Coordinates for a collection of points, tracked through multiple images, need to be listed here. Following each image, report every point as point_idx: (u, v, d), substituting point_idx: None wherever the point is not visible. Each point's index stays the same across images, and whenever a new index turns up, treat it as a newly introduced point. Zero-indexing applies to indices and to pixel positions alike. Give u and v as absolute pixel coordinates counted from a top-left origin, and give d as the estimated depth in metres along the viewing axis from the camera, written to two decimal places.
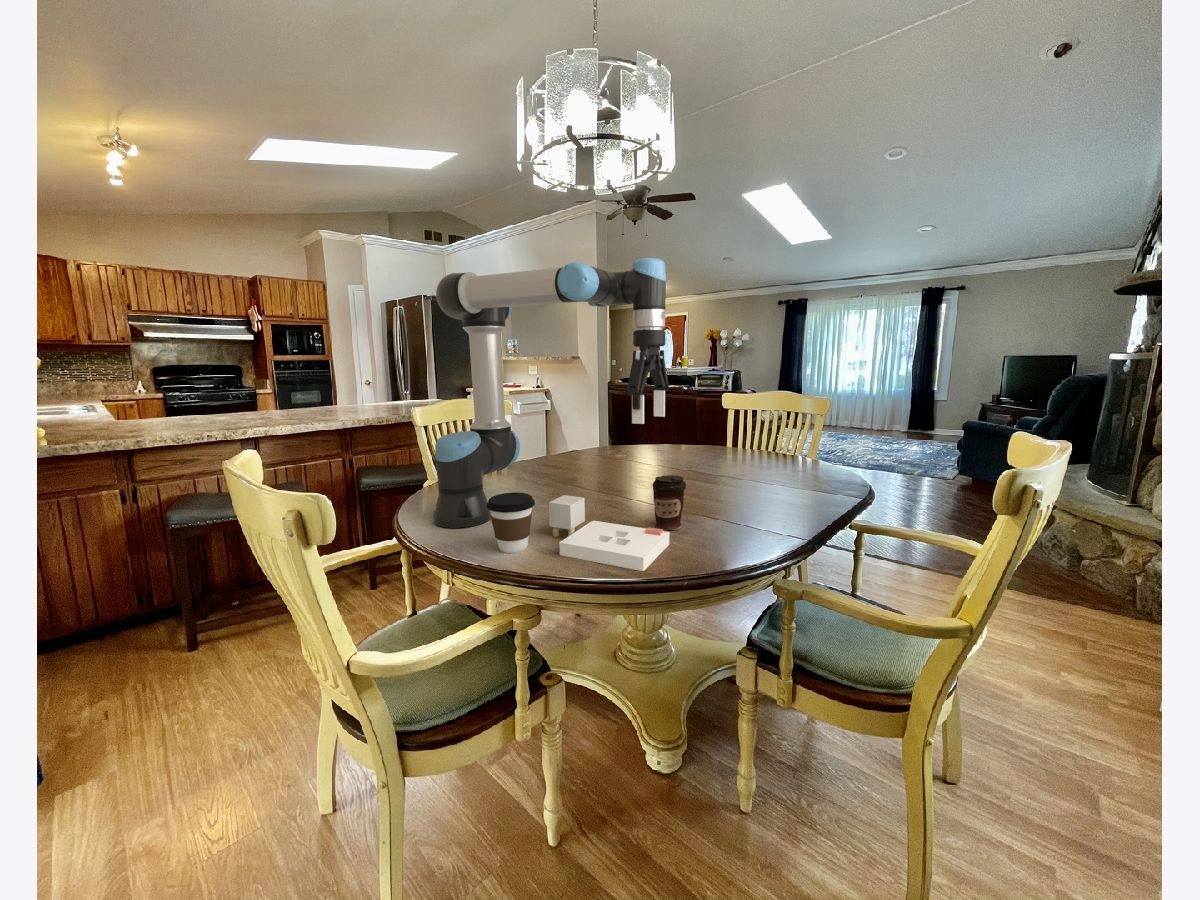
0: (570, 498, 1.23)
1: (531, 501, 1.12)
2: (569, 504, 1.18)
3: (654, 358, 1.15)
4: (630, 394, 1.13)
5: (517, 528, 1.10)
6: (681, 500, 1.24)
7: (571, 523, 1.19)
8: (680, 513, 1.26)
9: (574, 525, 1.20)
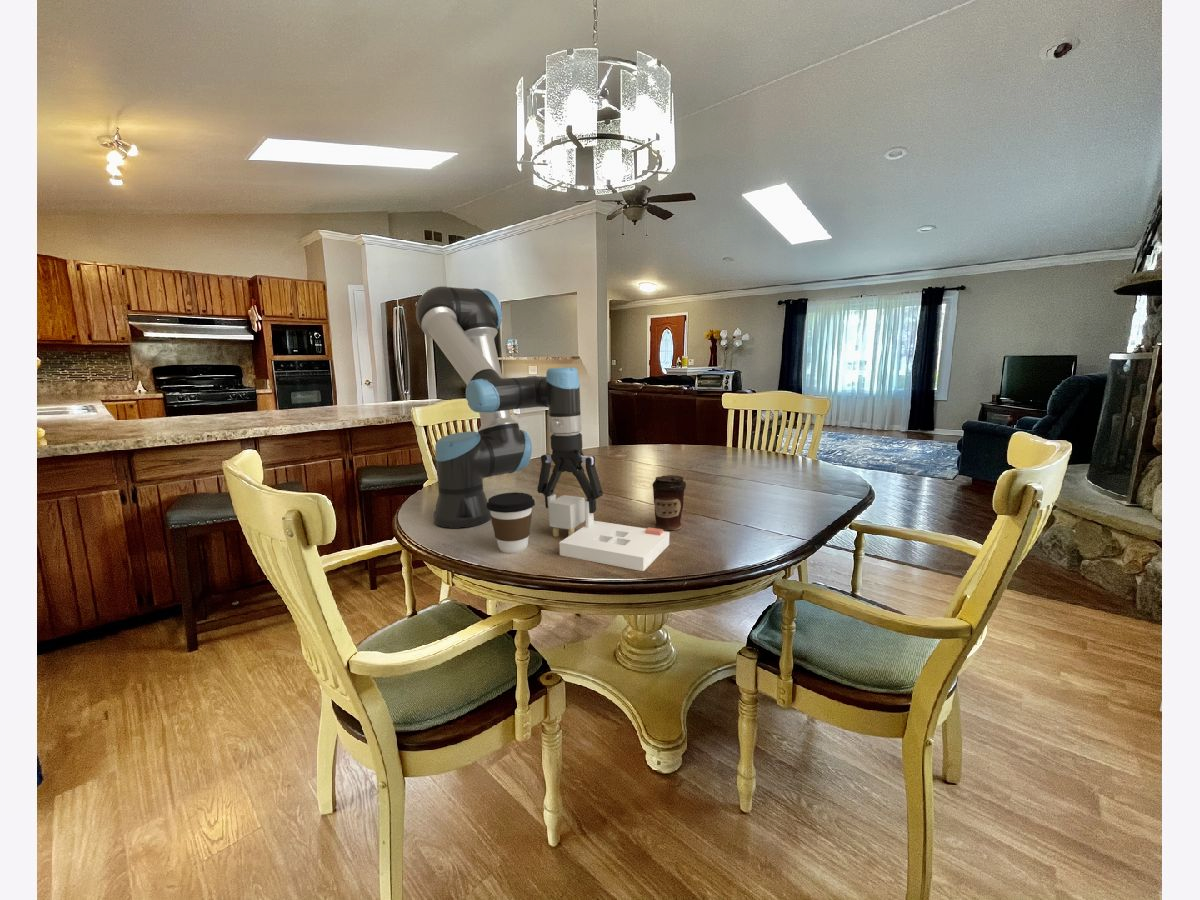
0: (570, 498, 1.23)
1: (531, 501, 1.12)
2: (569, 504, 1.18)
3: (557, 462, 1.19)
4: None
5: (517, 528, 1.10)
6: (681, 500, 1.24)
7: (571, 523, 1.19)
8: (680, 513, 1.26)
9: (574, 525, 1.20)
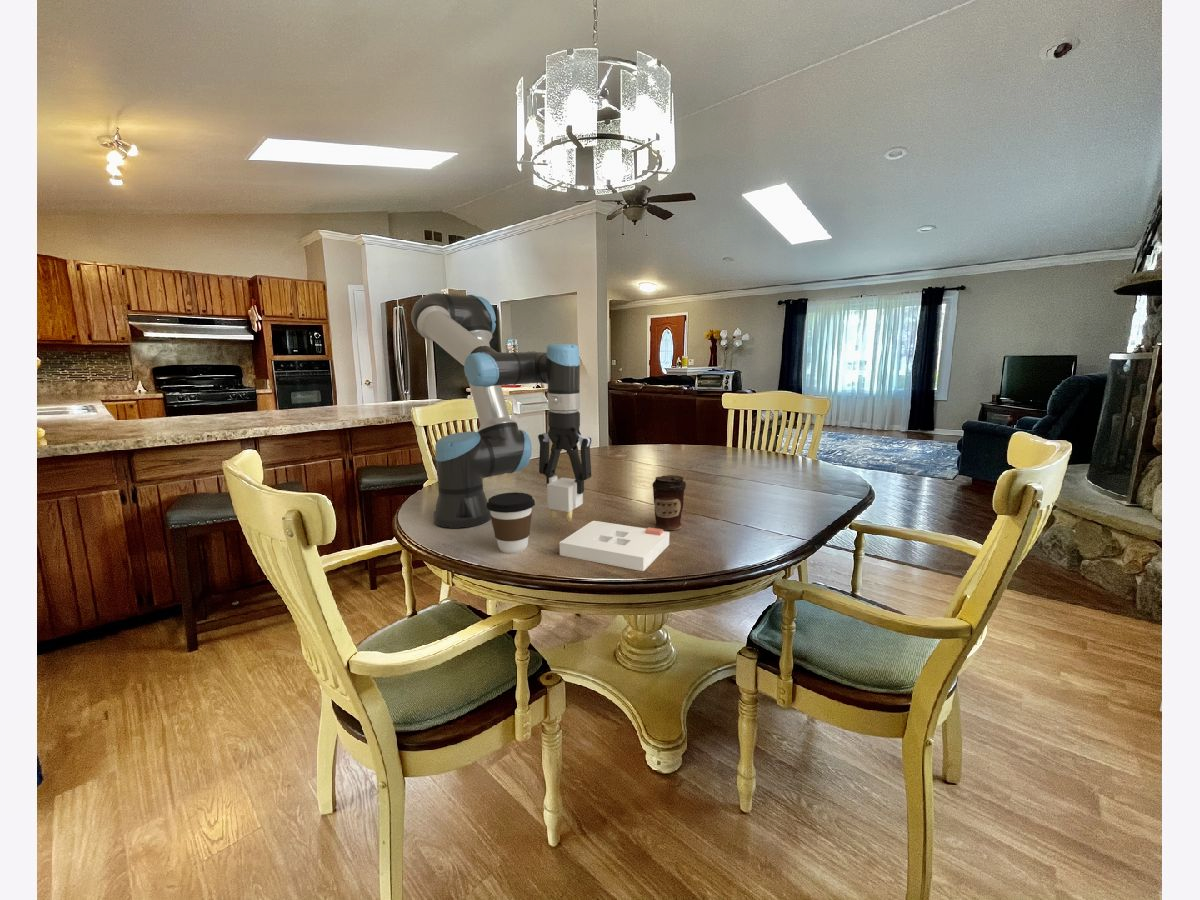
0: (569, 481, 1.23)
1: (531, 501, 1.12)
2: (567, 486, 1.18)
3: (554, 439, 1.18)
4: None
5: (517, 528, 1.10)
6: (681, 500, 1.24)
7: (569, 505, 1.18)
8: (680, 513, 1.26)
9: (572, 507, 1.20)
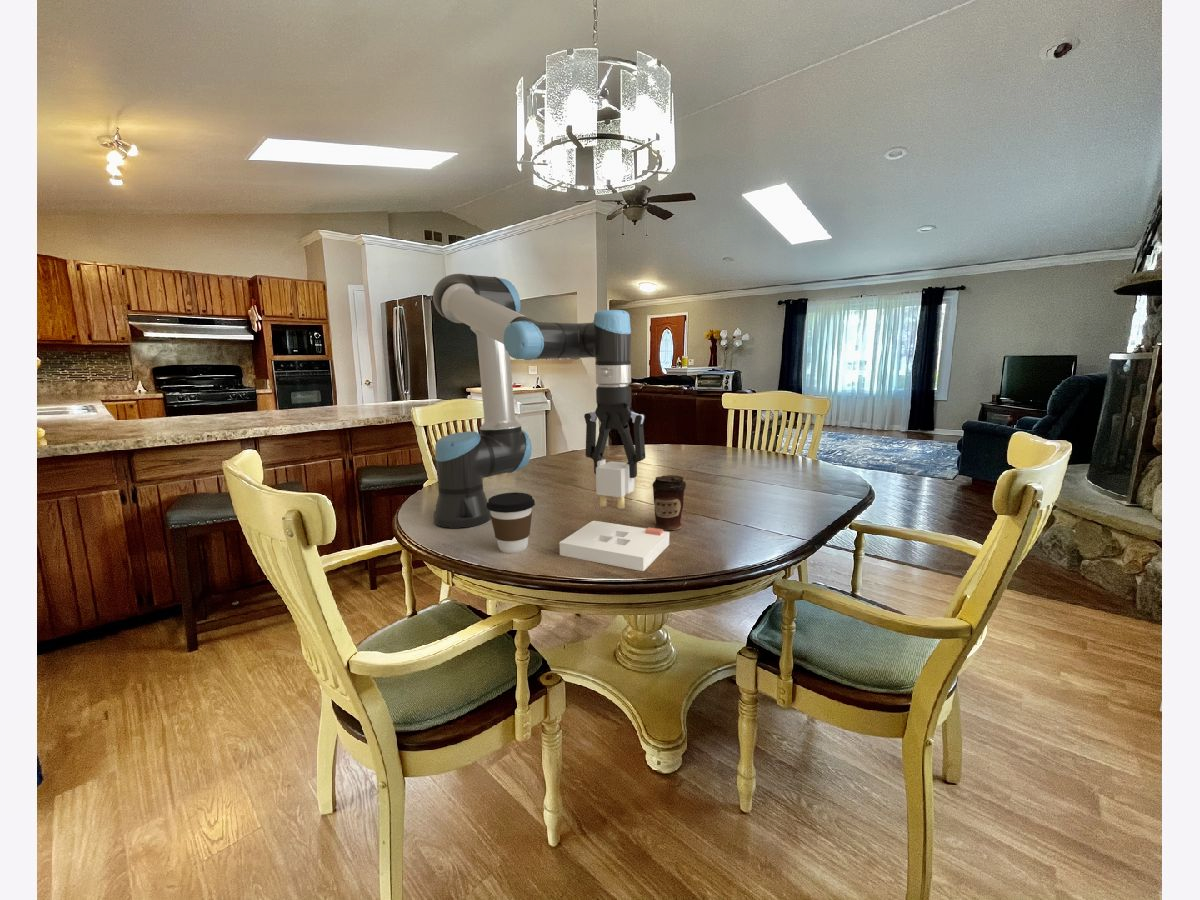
0: (618, 464, 1.11)
1: (531, 501, 1.12)
2: (619, 469, 1.06)
3: (604, 417, 1.07)
4: None
5: (517, 528, 1.10)
6: (681, 500, 1.24)
7: (621, 490, 1.06)
8: (680, 513, 1.26)
9: (624, 493, 1.08)
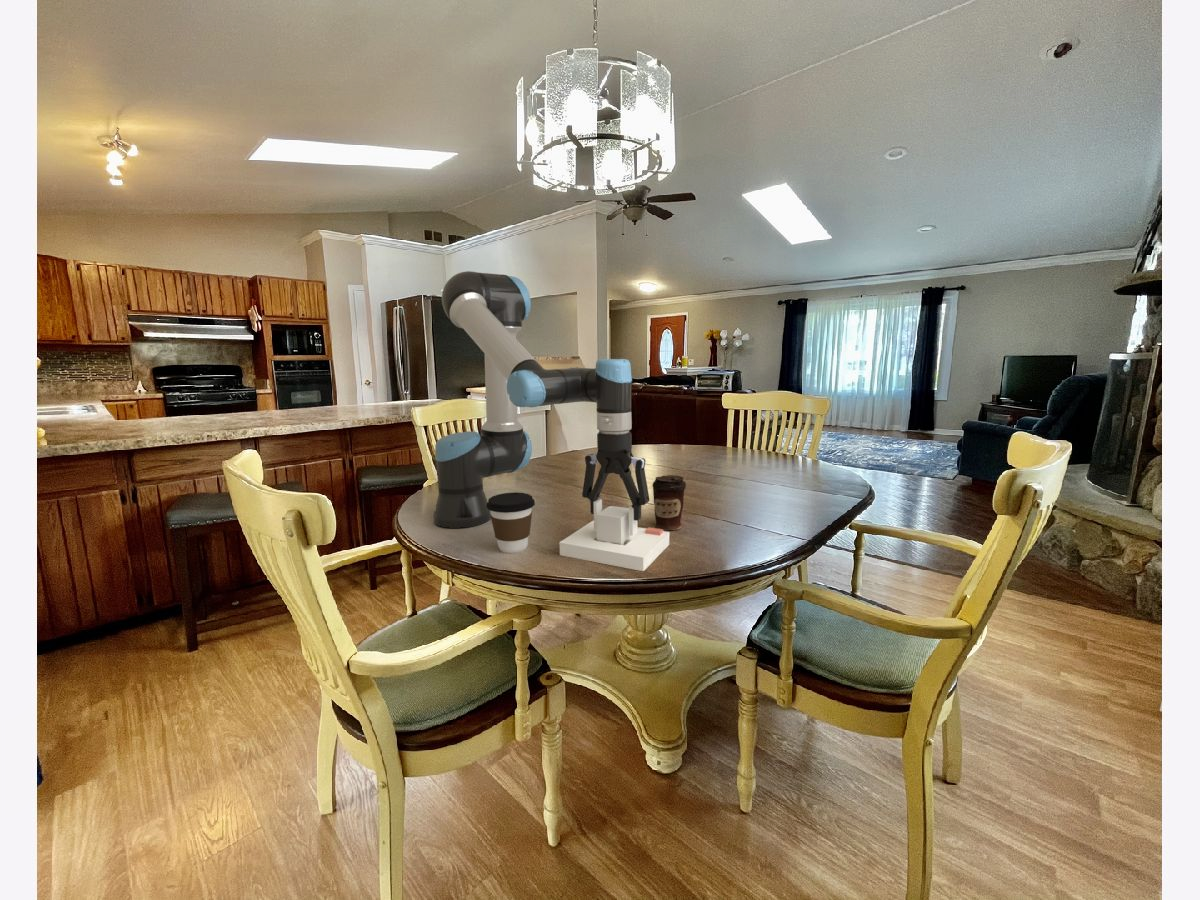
0: (618, 510, 1.13)
1: (531, 501, 1.12)
2: (619, 516, 1.08)
3: (604, 462, 1.08)
4: None
5: (517, 528, 1.10)
6: (681, 500, 1.24)
7: (621, 537, 1.09)
8: (680, 513, 1.26)
9: (624, 539, 1.10)
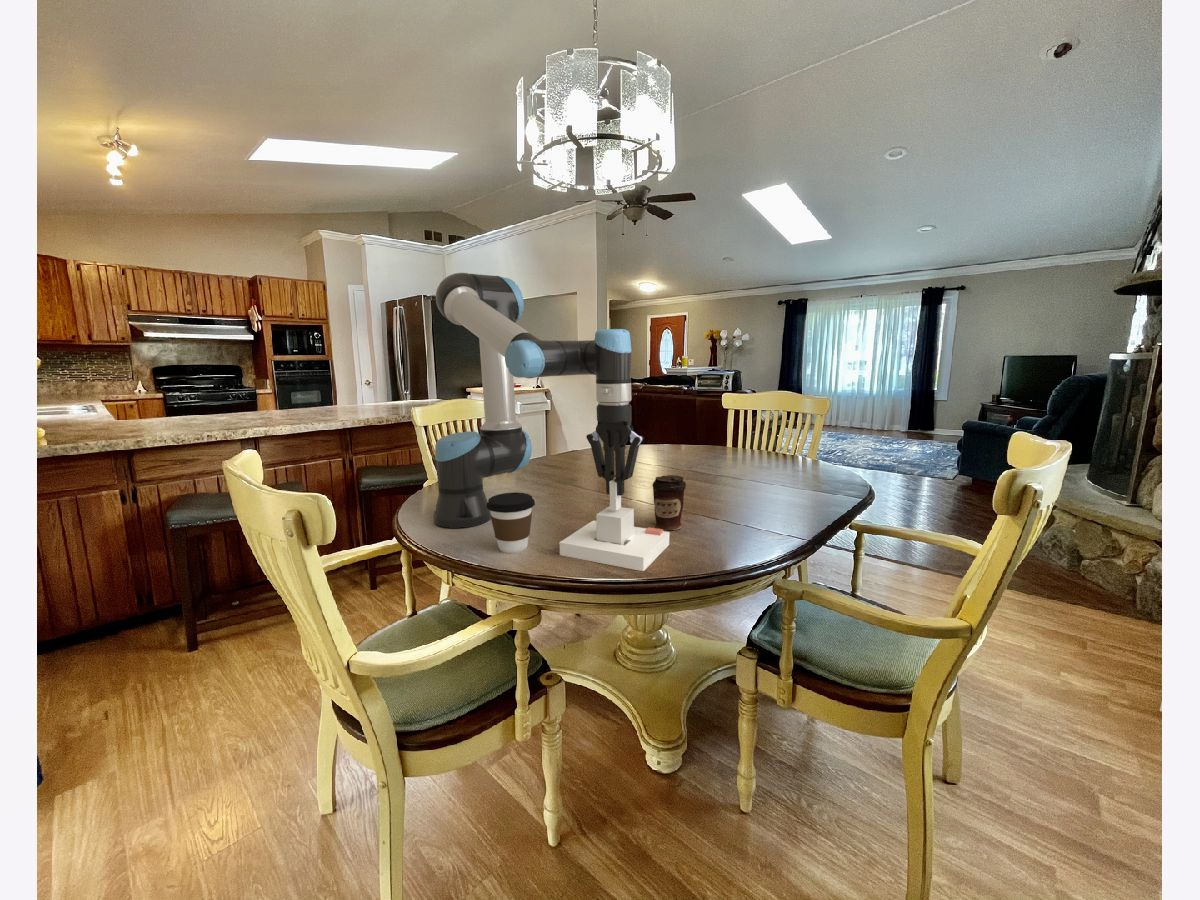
0: (618, 510, 1.13)
1: (531, 501, 1.12)
2: (619, 516, 1.08)
3: (604, 435, 1.07)
4: None
5: (517, 528, 1.10)
6: (681, 500, 1.24)
7: (621, 537, 1.09)
8: (680, 513, 1.26)
9: (624, 539, 1.10)
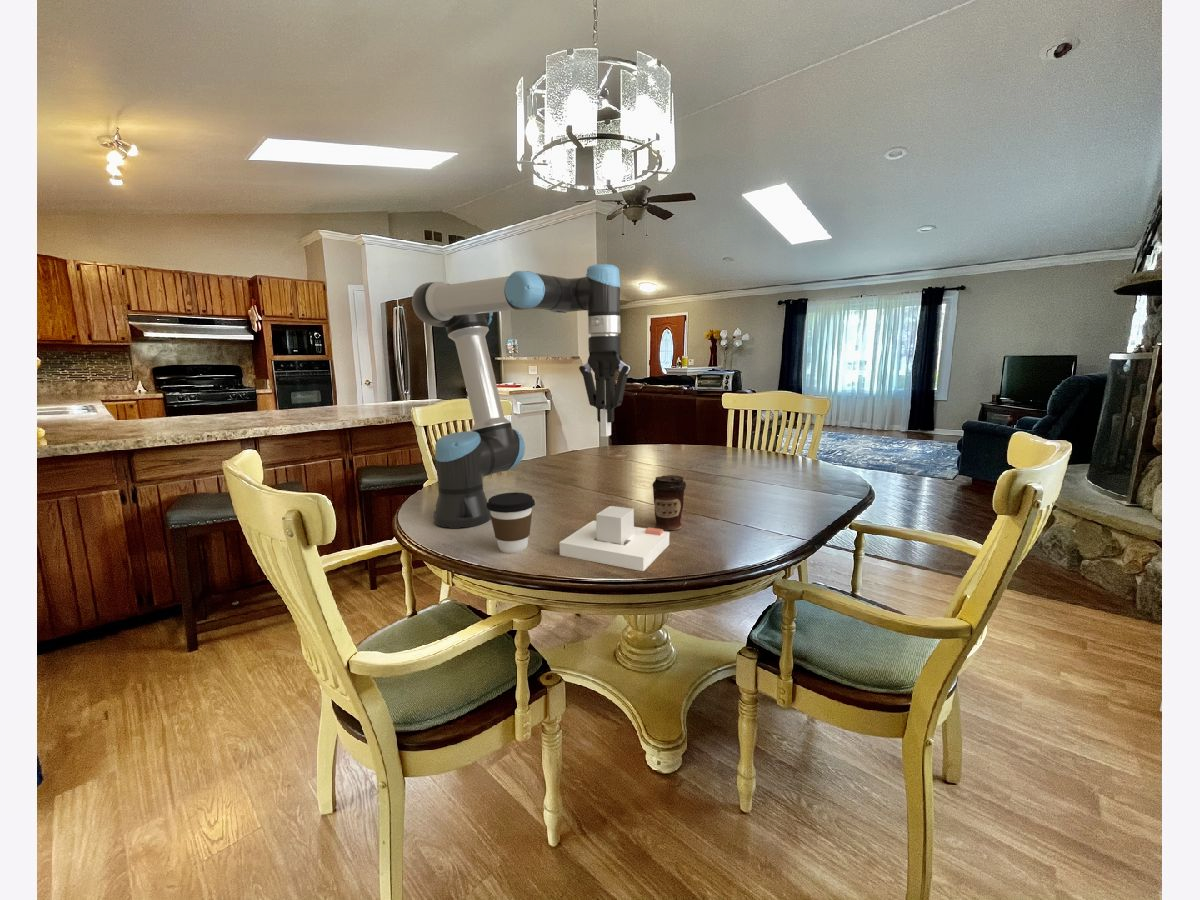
0: (618, 510, 1.13)
1: (531, 501, 1.12)
2: (619, 516, 1.08)
3: (595, 365, 1.16)
4: None
5: (517, 528, 1.10)
6: (681, 500, 1.24)
7: (621, 537, 1.09)
8: (680, 513, 1.26)
9: (624, 539, 1.10)
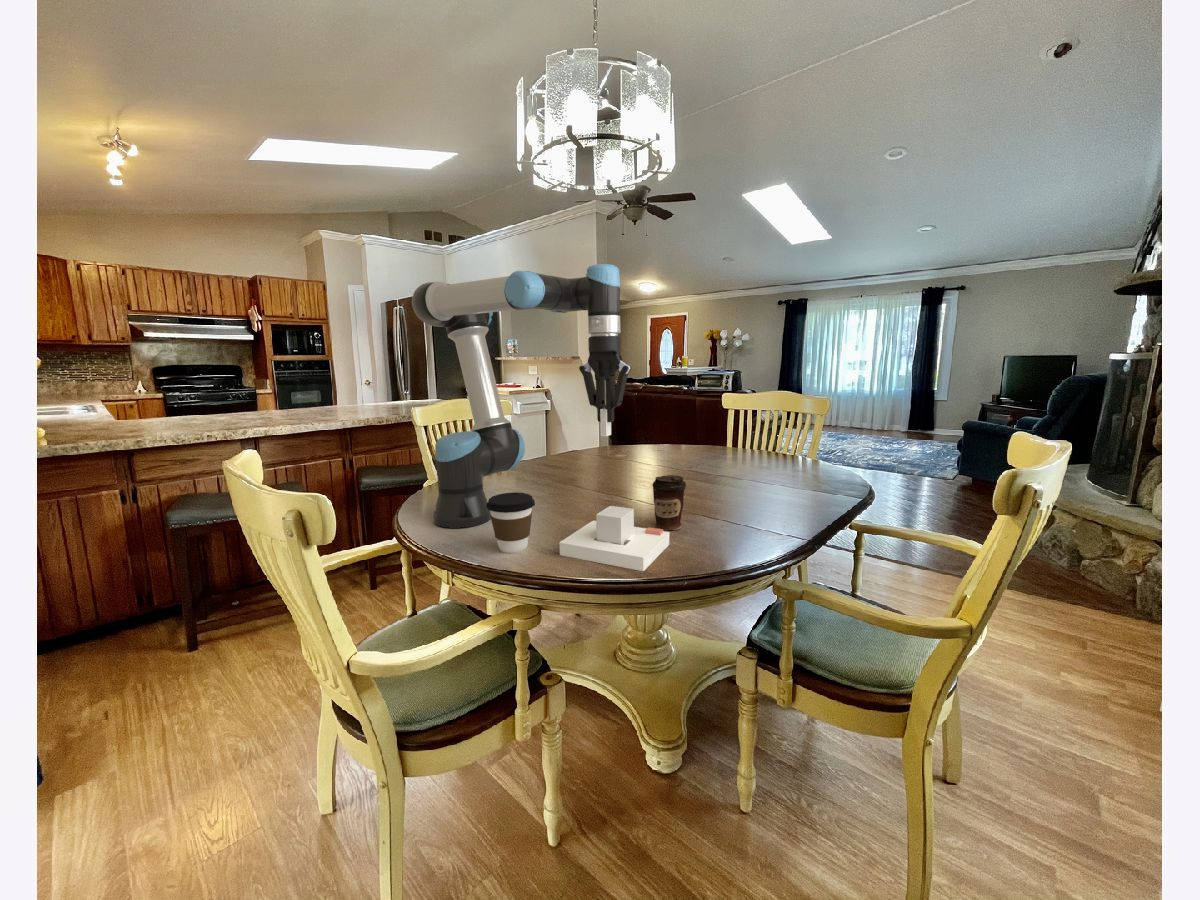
0: (618, 510, 1.13)
1: (531, 501, 1.12)
2: (619, 516, 1.08)
3: (595, 365, 1.16)
4: None
5: (517, 528, 1.10)
6: (681, 500, 1.24)
7: (621, 537, 1.09)
8: (680, 513, 1.26)
9: (624, 539, 1.10)
